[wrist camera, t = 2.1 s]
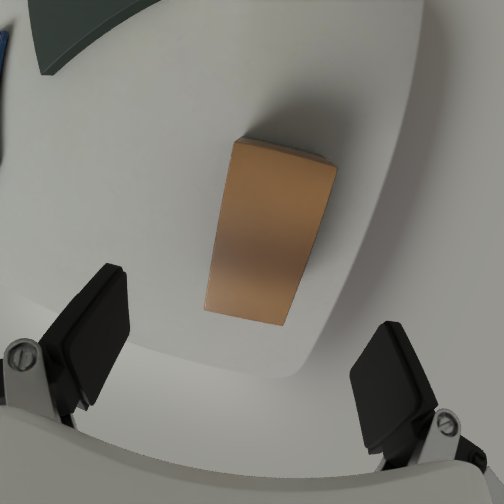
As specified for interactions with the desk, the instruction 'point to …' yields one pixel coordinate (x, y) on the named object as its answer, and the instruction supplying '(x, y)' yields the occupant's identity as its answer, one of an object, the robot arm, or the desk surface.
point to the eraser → (266, 228)
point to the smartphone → (2, 46)
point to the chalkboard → (74, 26)
